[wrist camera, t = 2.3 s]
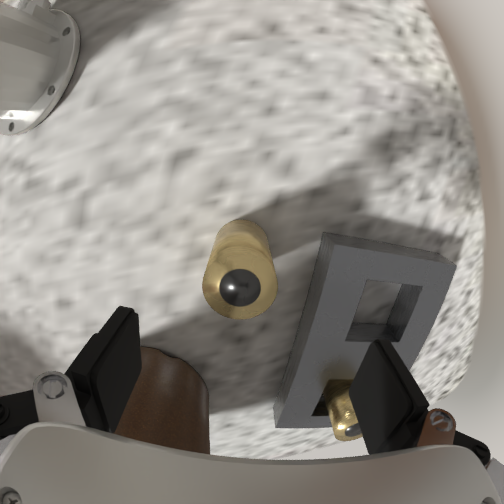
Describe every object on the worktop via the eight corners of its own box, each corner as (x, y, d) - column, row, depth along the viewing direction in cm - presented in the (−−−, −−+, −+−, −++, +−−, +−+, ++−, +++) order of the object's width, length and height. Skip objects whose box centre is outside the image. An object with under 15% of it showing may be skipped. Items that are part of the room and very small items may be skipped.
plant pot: (170, 300, 23) (103, 473, 8) (257, 409, 28) (264, 541, 13) (63, 351, 25) (-4, 455, 10) (148, 435, 30) (124, 535, 15)
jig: (323, 232, 21) (356, 268, 15) (438, 253, 22) (485, 286, 16) (273, 407, 28) (278, 459, 21) (368, 405, 29) (385, 449, 22)
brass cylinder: (218, 216, 21) (205, 247, 14) (272, 223, 21) (284, 258, 14) (212, 266, 22) (199, 315, 16) (263, 272, 22) (270, 324, 16)
